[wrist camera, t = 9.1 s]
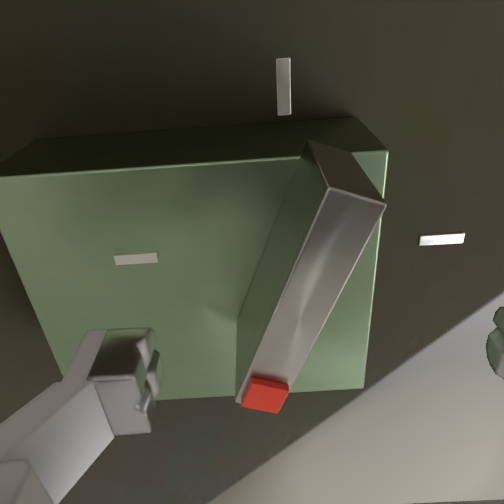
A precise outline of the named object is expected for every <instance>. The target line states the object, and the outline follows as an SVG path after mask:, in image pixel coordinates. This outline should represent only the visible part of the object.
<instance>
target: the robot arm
mask: <svg viewBox="0 0 504 504" xmlns="http://www.w3.org/2000/svg"><path fill="white" fill-rule="evenodd" d="M493 321H494V323H495V324H496V326H497V328H496V329H495V330H493V331H492V332H491V333H490V334H489V335H488V339H487V343H486V351H487V358H488V361H489V363H490V366H491V367H492V369H493V371H494V372H495V374H496V375H498V376H499V377H501V378H503V379H504V307H499V309H498V310H497V311H496V312H495V315H494V318H493ZM156 340H157V339H156V336H155V333H154V329H152V328H151V327H141V328H113V329H95V330H89V331H88V332H86V333H85V335H84V337H83V339H82V341H81V343H80V345H79V347H78V349H77V351H76V353H75V355H74V357H73V359H72V361H71V363H70V365H69V367H68V369H67V371H66V373H65V375H64V377H63V379H62V381H61V382H55V383H53V384H52V385H51V386H49V387H48V388H47V389H45V390H44V391H43V392H42V393H40V394H39V395H38V396H36V397H35V398H34V399H32V400H31V401H30V402H28V403H27V404H26V405H24V406H23V407H22V408H20V409H19V410H18V411H17V412H15V413H14V414H13V415H11V416H10V417H9V418H7V419H6V420H5V421H3V422H2V423H1V424H0V504H58V503H59V502H60V501H61V500H62V499H63V497H64V496H65V495H66V494H67V493H68V492H69V490H70V489H71V488H72V487H73V486H74V484H75V483H76V482H77V481H78V480H79V479H80V477H81V476H82V475H83V474H84V473H85V471H86V470H87V469H88V468H89V467H90V466H91V464H92V463H93V462H94V461H95V460H96V458H97V457H98V456H99V455H100V454H101V453H102V451H103V450H104V449H105V448H106V447H107V445H108V444H109V443H110V442H111V441H112V440H113V438H114V436H113V435H125V434H138V433H151V429H152V425H153V421H154V416H155V412H156V404H155V401H154V397H156V396H157V395H158V394H159V393H160V390H161V385H162V376H163V367H162V359H161V355H160V353H159V352H158V351H157V350H156V349H154V347H155V343H156ZM414 504H504V500H483V501H459V502H438V503H437V502H436V503H414Z"/></svg>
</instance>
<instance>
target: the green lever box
mask: <svg viewBox="0 0 504 504" xmlns="http://www.w3.org/2000/svg"><path fill="white" fill-rule="evenodd" d="M276 86H277V114H278V116H281V115H291V73H290V57H284V58H276ZM307 140H312V141H315V142H319V143H322V144H325V145H328V146H331V147H334V148H338V149H341V150H344V151H347V152H350V153H352V154H353V156H354V157H355V159H356V160H357V162H358V163H359V164H360V166H361V167H362V169H363V170H364V172H365V173H366V174H367V176H368V177H369V179H370V180H371V182H372V183H373V184H374V186H375V187H376V189H377V190H378V192H379V193H380V194H381V196H382V197H383V199H384V195H385V186H386V177H387V167H388V158H389V150H388V149H387V148H386V147H385V146H384V145H383V144H382V143H381V141H380V140H379V139H378V138H377V137H376V136H375V135H374V134H373V133H372V132H371V131H370V130H369V129H368V128H367V127H366V126H365V125H364V124H363V123H362V122H361V121H360V120H359V119H358V118H357V117H348V118H334V119H320V120H305V121H291V122H277V123H263V124H249V125H235V126H220V127H206V128H192V129H178V130H164V131H150V132H135V133H121V134H107V135H93V136H79V137H65V138H50V139H36V140H35V141H33V142H32V143H30V144H29V145H27V146H26V147H24V148H23V149H21V150H20V151H18V152H17V153H15V154H14V155H12V156H11V157H9V158H8V159H6V160H5V161H3V162H2V163H0V232H1V235H2V237H3V239H4V241H5V244H6V246H7V248H8V251H9V253H10V255H11V258H12V260H13V262H14V265H15V267H16V269H17V272H18V274H19V276H20V279H21V281H22V283H23V286H24V288H25V290H26V292H27V295H28V297H29V299H30V302H31V304H32V306H33V309H34V311H35V313H36V316H37V318H38V320H39V323H40V325H41V327H42V330H43V332H44V334H45V337H46V339H47V341H48V343H49V346H50V348H51V350H52V353H53V355H54V357H55V360H56V362H57V364H58V367H59V369H60V371H61V374H62V376H63V377H64V375H65V373H66V371H67V369H68V367H69V365H70V363H71V361H72V359H73V357H74V355H75V353H76V351H77V349H78V347H79V345H80V343H81V341H82V339H83V337H84V335H85V333H86V332H88V331H89V330H95V329H113V328H141V327H151V328H152V329H154V333H155V336H156V339H157V340H156V343H155V347H154V349H156V350H157V351H158V352H159V353H160V355H161V359H162V367H163V376H162V385H161V390H160V393H159V394H158V395H157V396H156V397H154V400H169V399H187V398H204V397H222V396H235V376H236V335H237V321H238V318H239V316H240V313H241V310H242V308H243V305H244V303H245V300H246V297H247V295H248V292H249V290H250V287H251V284H252V282H253V279H254V276H255V274H256V271H257V269H258V266H259V263H260V261H261V258H262V256H263V253H264V250H265V248H266V245H267V243H268V240H269V237H270V235H271V232H272V230H273V227H274V224H275V222H276V219H277V216H278V214H279V211H280V209H281V206H282V203H283V201H284V198H285V196H286V193H287V190H288V188H289V185H290V183H291V180H292V177H293V175H294V172H295V169H296V167H297V164H298V162H299V159H300V156H301V154H302V151H303V149H304V146H305V143H306V141H307ZM381 223H382V216H381V218H380V220H379V222H378V224H377V226H376V228H375V230H374V231H373V233H372V235H371V237H370V239H369V241H368V243H367V245H366V247H365V249H364V250H363V252H362V254H361V256H360V258H359V260H358V262H357V264H356V266H355V268H354V269H353V271H352V273H351V275H350V277H349V279H348V281H347V283H346V285H345V287H344V289H343V290H342V292H341V294H340V296H339V298H338V300H337V302H336V304H335V306H334V308H333V309H332V311H331V313H330V315H329V317H328V319H327V321H326V323H325V325H324V327H323V328H322V330H321V332H320V334H319V336H318V338H317V340H316V342H315V344H314V346H313V348H312V349H311V351H310V353H309V355H308V357H307V359H306V361H305V363H304V365H303V367H302V368H301V370H300V372H299V374H298V376H297V378H296V380H295V382H294V384H293V386H292V387H291V389H290V391H289V393H292V392H310V391H327V390H345V389H362V388H364V381H365V372H366V363H367V353H368V344H369V335H370V326H371V316H372V307H373V298H374V288H375V279H376V270H377V260H378V251H379V242H380V233H381ZM464 236H465V233H464V232H463V231H458V232H443V233H427V234H419V238H418V245H419V246H424V245H439V244H455V243H463V240H464Z"/></svg>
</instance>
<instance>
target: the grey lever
mask: <svg viewBox="0 0 504 504" xmlns="http://www.w3.org/2000/svg"><path fill="white" fill-rule="evenodd" d="M386 206H387V203H386V202H385V200H384V199H383V197H382V196H381V194H380V193H379V192H378V190H377V189H376V187H375V186H374V184H373V183H372V182H371V180H370V179H369V177H368V176H367V174H366V173H365V172H364V170H363V169H362V167H361V166H360V164H359V163H358V162H357V160H356V159H355V157H354V156H353V154H352V153H350V152H347V151H344V150H341V149H338V148H334V147H331V146H328V145H325V144H322V143H319V142H315V141H312V140H307V141H306V143H305V146H304V149H303V151H302V154H301V156H300V159H299V162H298V164H297V167H296V169H295V172H294V175H293V177H292V180H291V183H290V185H289V188H288V190H287V193H286V196H285V198H284V201H283V203H282V206H281V209H280V211H279V214H278V216H277V219H276V222H275V224H274V227H273V230H272V232H271V235H270V237H269V240H268V243H267V245H266V248H265V250H264V253H263V256H262V258H261V261H260V263H259V266H258V269H257V271H256V274H255V276H254V279H253V282H252V284H251V287H250V290H249V292H248V295H247V297H246V300H245V303H244V305H243V308H242V310H241V313H240V316H239V318H238V321H237V335H236V376H235V401H236V402H237V403H241V406H242V407H247V408H252V409H257V410H262V411H267V412H273V413H278V412H279V410H280V408H281V407H282V405H283V403H284V401H285V399H286V397H287V395H288V393H289V391H290V389H291V387H292V386H293V384H294V382H295V380H296V378H297V376H298V374H299V372H300V370H301V368H302V367H303V365H304V363H305V361H306V359H307V357H308V355H309V353H310V351H311V349H312V348H313V346H314V344H315V342H316V340H317V338H318V336H319V334H320V332H321V330H322V328H323V327H324V325H325V323H326V321H327V319H328V317H329V315H330V313H331V311H332V309H333V308H334V306H335V304H336V302H337V300H338V298H339V296H340V294H341V292H342V290H343V289H344V287H345V285H346V283H347V281H348V279H349V277H350V275H351V273H352V271H353V269H354V268H355V266H356V264H357V262H358V260H359V258H360V256H361V254H362V252H363V250H364V249H365V247H366V245H367V243H368V241H369V239H370V237H371V235H372V233H373V231H374V230H375V228H376V226H377V224H378V222H379V220H380V218H381V216H382V214H383V212H384V210H385V209H386Z"/></svg>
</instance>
